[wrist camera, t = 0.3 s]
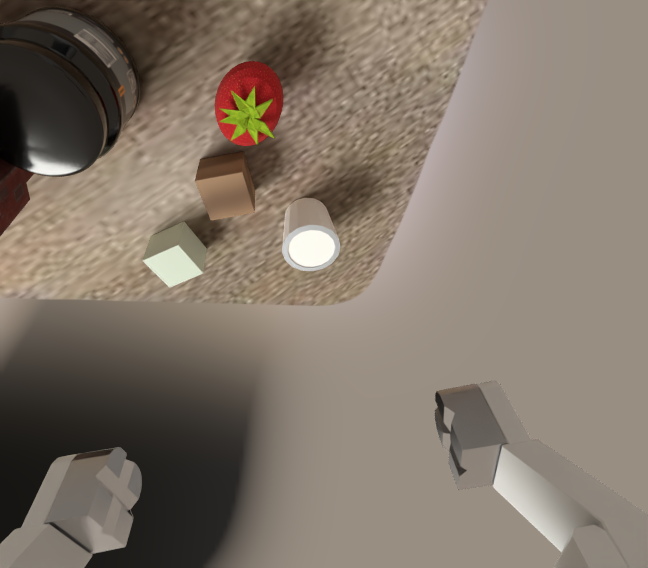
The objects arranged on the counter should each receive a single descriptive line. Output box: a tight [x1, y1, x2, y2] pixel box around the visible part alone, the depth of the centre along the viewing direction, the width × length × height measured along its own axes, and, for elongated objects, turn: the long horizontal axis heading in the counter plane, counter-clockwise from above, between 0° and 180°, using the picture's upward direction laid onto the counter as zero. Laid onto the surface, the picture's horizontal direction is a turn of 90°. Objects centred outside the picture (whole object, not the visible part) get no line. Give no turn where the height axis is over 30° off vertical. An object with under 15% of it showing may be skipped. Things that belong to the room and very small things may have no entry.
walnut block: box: [195, 151, 255, 220], centre depth 45 cm, size 5×5×5 cm
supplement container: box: [0, 7, 140, 177], centre depth 33 cm, size 10×10×12 cm
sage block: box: [143, 221, 207, 287], centre depth 50 cm, size 5×5×5 cm
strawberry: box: [215, 61, 283, 146], centre depth 37 cm, size 6×8×10 cm
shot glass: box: [282, 198, 340, 271], centre depth 49 cm, size 7×7×7 cm
